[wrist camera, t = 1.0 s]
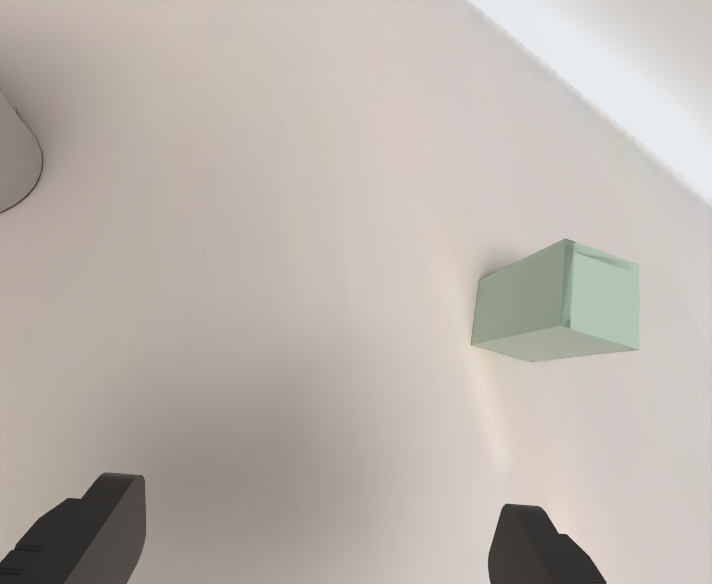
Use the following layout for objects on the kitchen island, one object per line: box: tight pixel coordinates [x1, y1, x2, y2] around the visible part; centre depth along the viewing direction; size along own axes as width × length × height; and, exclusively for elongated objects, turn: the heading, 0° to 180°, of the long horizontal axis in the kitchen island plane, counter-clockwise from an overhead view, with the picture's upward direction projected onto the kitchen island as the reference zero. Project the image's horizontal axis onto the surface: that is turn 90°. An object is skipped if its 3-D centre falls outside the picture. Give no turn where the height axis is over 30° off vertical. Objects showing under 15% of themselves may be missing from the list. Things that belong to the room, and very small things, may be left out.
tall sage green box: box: [471, 238, 639, 362], centre depth 33 cm, size 6×6×11 cm
